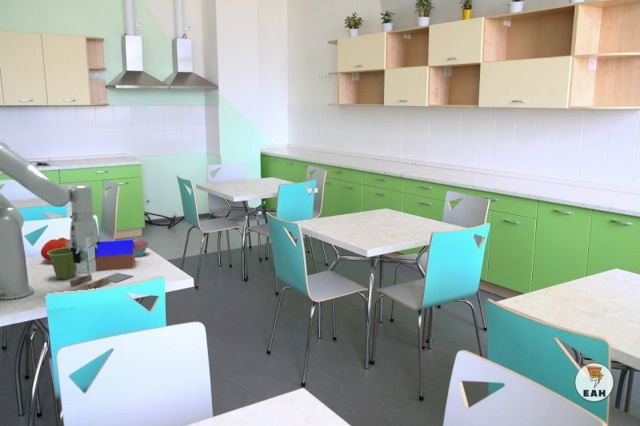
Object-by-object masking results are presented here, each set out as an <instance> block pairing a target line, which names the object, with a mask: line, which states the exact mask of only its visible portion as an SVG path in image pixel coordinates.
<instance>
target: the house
mask: <svg viewBox="0 0 640 426" xmlns="http://www.w3.org/2000/svg"><path fill="white" fill-rule="evenodd" d="M133 241H134V240H133V239H124V240H123V239H122V240H109V241H106V240H104V241H100V243H99V245H98V248H97V249H96V251H97V258H96V259H95V263H96V271H95V272H97V271H98V272H99V271H100V272H101V271H110V270H111V271H112V270H126V269H134V266H135V263H136V256H135V254H134V247H135V246H134V242H133Z"/></svg>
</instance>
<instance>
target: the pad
mask: <svg viewBox="0 0 640 426" xmlns="http://www.w3.org/2000/svg"><path fill="white" fill-rule="evenodd" d="M106 277H108V278H109V283H114V284H117V283H120V282H122V281H125V280H128V279H131V278H134V275H131V274H126V273H120V272H115V273H113V274H110V275H108V276H104V277H102V278H100V279H99V280H101V279H103V278H106Z"/></svg>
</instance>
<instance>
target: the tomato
mask: <svg viewBox="0 0 640 426" xmlns="http://www.w3.org/2000/svg"><path fill="white" fill-rule="evenodd" d="M69 240H70V238H69V239H67V238H65V237H59V238H57V239H56V238H55V239H53V238H52V239H50V240H48V241H47V242H45V244H44V245H43V246H42V248H41V249H40V255H41V257H42V258H43V259H45V260H47V261H49V262H51V260H50V257H49V255H48V254H47V252H49V251H51V250H54V249H59V248H66V244H67V242H68V241H69ZM71 246H72V247H73V245H71Z"/></svg>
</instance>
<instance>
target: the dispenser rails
mask: <svg viewBox="0 0 640 426" xmlns="http://www.w3.org/2000/svg"><path fill="white" fill-rule="evenodd" d="M92 276H93V275H92V273H90V274H84V275H83V276H80V277H77V278H74V279H73V278H72V279H71V280H69V284H70V287H71V288H73V287H76V286H79V285H82V284H85V283H87V284H86V285H87V290H88V289H92V288H95V289H97V288H101V287H103V286H106V285H108V284H110V282H109V278H108V277H107V276H105V277H106V278H104V277H102V278H103V279H101V278H100V279H101V280H100V279H98V280H96V281H93V282H91V281H92V280H93V278H92ZM88 282H90V283H88Z"/></svg>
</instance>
